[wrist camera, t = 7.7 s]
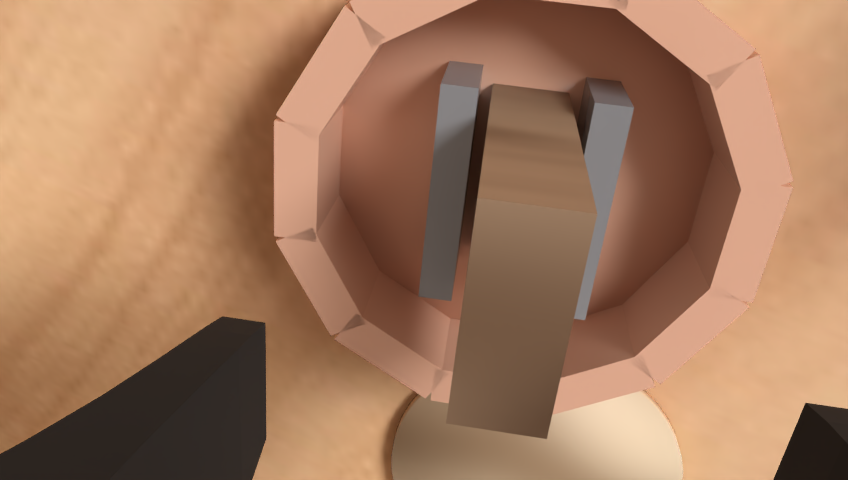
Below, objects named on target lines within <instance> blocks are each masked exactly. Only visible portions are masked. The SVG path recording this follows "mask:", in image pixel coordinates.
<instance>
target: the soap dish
mask: <svg viewBox="0 0 848 480" xmlns="http://www.w3.org/2000/svg"><path fill="white" fill-rule="evenodd" d="M755 50H756V48H754V47H753V46H752V45H751V44H750V43H748V42H747V41H746V40H745V39H744V38H742V37H741V36H740V35H739V34H737V33H736V32H735V31H734V30H733V29H731V28H730V27H729V26H728V25H727V24H725V23H724V22H723V21H722V20H721V19H719V18H718V17H717V16H716V15H715V14H713V13H712V12H711V11H710V10H709V9H707V8H706V7H705V6H704V5H702V4H701V3H700V2H699V1H698V0H351V1H349V3H348V4H346V5H345V6H344V7H343V9H342V10H341V12H340V13H339V15H338V17H337V18H336V20H335V21H334V23H333V25H332V26H331V28H330V29H329V31H328V33H327V34H326V36H325V37H324V39H323V40H322V42H321V44H320V45H319V47H318V48H317V50H316V52H315V53H314V55H313V56H312V58H311V60H310V61H309V63H308V64H307V66H306V67H305V69H304V71H303V72H302V74H301V75H300V77H299V79H298V80H297V82H296V83H295V85H294V87H293V88H292V90H291V91H290V93H289V94H288V96H287V98H286V99H285V101H284V102H283V104H282V106H281V107H280V109H279V110H278V112H277V114H276V116H278V117H277V118H276V119H275V120H274V236H277V237H278V239H277V240H276V243H277V245H278V246H279V248H280V250H281V252H282V253H283V255H284V257H285V258H286V260H287V262H288V264H289V265H290V267H291V269H292V270H293V272H294V274H295V276H296V277H297V279H298V281H299V282H300V284H301V286H302V288H303V289H304V291H305V293H306V294H307V296H308V298H309V300H310V301H311V303H312V305H313V306H314V308H315V310H316V312H317V313H318V315H319V317H320V318H321V320H322V322H323V324H324V325H325V327H326V329H327V330H328V332H329V334H330V336H331V335H334V334H336V337H335V339H334V340H336V341H337V342H339V343H340V344H342V345H343V346H345V347H347V348H348V349H350V350H351V351H353V352H354V353H356V354H357V355H359V356H360V357H362V358H364V359H365V360H367V361H368V362H370V363H371V364H373V365H374V366H376V367H377V368H379V369H381V370H382V371H384V372H385V373H387V374H388V375H390V376H391V377H393V378H394V379H396V380H398V381H399V382H401V383H402V384H404V385H405V386H407V387H408V388H410V389H411V390H413V391H415V392H416V393H418V394H419V395H421V396H422V397H424V398H426V397H427V396H428V395H429V394H430V393H431V401H438V402H444V403H449V397H450V390H451V382H452V375H453V368H454V361H455V353H456V346H457V339H458V332H459V324H460V317H461V310H462V303H463V295H464V288H465V281H466V273H467V266H468V259H469V252H470V244H471V237H472V230H473V223H474V216H475V209H476V202H477V194H478V187H479V180H480V173H481V166H482V159H483V152H484V145H485V137H486V130H487V123H488V116H489V109H490V102H491V95H492V87H493V83H495V84H503V85H511V86H519V87H527V88H535V89H543V90H551V91H559V92H567V93H569V94H570V99H571V103H572V107H573V111H574V116H575V120H576V124H577V129H578V133H579V137H580V141H581V146H582V150H583V154H584V159H585V163H586V167H587V171H588V176H589V180H590V184H591V188H592V193H593V197H594V201H595V206H596V210H597V218H596V223H595V227H594V232H593V236H592V241H591V245H590V249H589V254H588V258H587V263H586V267H585V272H584V276H583V281H582V285H581V289H580V294H579V298H578V303H577V307H576V312H575V316H574V321H573V325H572V329H571V334H570V338H569V343H568V347H567V352H566V356H565V361H564V365H563V369H562V374H561V378H560V383H559V387H558V392H557V396H556V401H555V405H554V409H553V414H552V415H554V414H557V413H561V412H565V411H569V410H572V409H576V408H580V407H583V406H587V405H591V404H594V403H598V402H602V401H605V400H609V399H613V398H616V397H620V396H624V395H628V394H631V393H635V392H639V391H642V390H646V389H650V388H653V387H655V384H654V380H655V381H657V382H658V383H659V384H661V383H663V382H664V381H665V380H666V379H667V378H668V377H670V376H671V375H672V374H673V373H674V372H675V371H677V370H678V369H679V368H680V367H681V366H682V365H683V364H685V363H686V362H687V361H688V360H689V359H690V358H692V357H693V356H694V355H695V354H696V353H697V352H698V351H700V350H701V349H702V348H703V347H704V346H705V345H707V344H708V343H709V342H710V341H711V340H712V339H714V338H715V337H716V336H717V335H718V334H719V333H720V332H722V331H723V330H724V329H725V328H726V327H727V326H729V325H730V324H731V323H732V322H733V321H734V320H736V319H737V318H738V317H739V316H740V315H741V314H742V313H744V312H745V311H746V310H747V309H748V308H749V306H748V304H747V302H752V303H753V301H754V298H755V295H756V292H757V289H758V286H759V284H760V281H761V278H762V275H763V272H764V269H765V266H766V264H767V261H768V258H769V255H770V252H771V249H772V247H773V244H774V241H775V238H776V235H777V232H778V229H779V227H780V224H781V221H782V218H783V215H784V212H785V210H786V207H787V204H788V201H789V198H790V195H791V192H792V190H793V187H792V186H791V185H790V182H793V177H792V174H791V170H790V166H789V162H788V159H787V155H786V151H785V147H784V144H783V140H782V136H781V132H780V129H779V125H778V121H777V117H776V114H775V110H774V106H773V102H772V98H771V95H770V91H769V87H768V83H767V80H766V76H765V72H764V68H763V65H762V61H761V57H760V55H759V54H758V53H757V52H755ZM653 379H654V380H653Z"/></svg>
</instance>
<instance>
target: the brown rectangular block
mask: <svg viewBox="0 0 848 480" xmlns="http://www.w3.org/2000/svg"><path fill="white" fill-rule="evenodd" d="M596 218H597V210H596V206H595V201H594V197H593V193H592V188H591V184H590V180H589V176H588V171H587V167H586V163H585V159H584V154H583V150H582V146H581V141H580V137H579V133H578V129H577V124H576V120H575V116H574V111H573V107H572V103H571V99H570V94H569V93H567V92H559V91H551V90H543V89H535V88H527V87H519V86H511V85H503V84H495V83H493V87H492V95H491V102H490V109H489V116H488V123H487V130H486V137H485V145H484V152H483V159H482V166H481V173H480V180H479V187H478V194H477V202H476V209H475V216H474V223H473V230H472V237H471V244H470V252H469V259H468V266H467V273H466V281H465V288H464V295H463V303H462V310H461V317H460V324H459V332H458V339H457V346H456V353H455V361H454V368H453V375H452V382H451V390H450V397H449V404H448V412H447V419H446V424H452V425H459V426H465V427H472V428H478V429H485V430H491V431H497V432H504V433H510V434H517V435H523V436H530V437H536V438H542V439H547V436H548V432H549V427H550V423H551V418H552V414H553V409H554V405H555V401H556V396H557V392H558V387H559V383H560V378H561V374H562V369H563V365H564V361H565V356H566V352H567V347H568V343H569V338H570V334H571V329H572V325H573V321H574V316H575V312H576V307H577V303H578V298H579V294H580V289H581V285H582V281H583V276H584V272H585V267H586V263H587V258H588V254H589V249H590V245H591V241H592V236H593V232H594V227H595V223H596Z"/></svg>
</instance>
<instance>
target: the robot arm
mask: <svg viewBox="0 0 848 480" xmlns="http://www.w3.org/2000/svg"><path fill="white" fill-rule="evenodd" d="M265 440H266V344H265V323H263V322H256V321H249V320H242V319H236V318H229V317H221V318H219V319H217V320H216V321H214V322H213V323H211V324H209V325H208V326H206V327H205V328H203V329H202V330H200V331H199V332H197V333H196V334H194V335H193V336H191V337H190V338H188V339H187V340H185V341H184V342H183V343H181V344H180V345H178V346H177V347H175V348H174V349H172V350H171V351H169V352H168V353H166V354H165V355H163V356H162V357H160V358H159V359H157V360H156V361H154V362H153V363H151V364H150V365H148V366H147V367H145V368H144V369H142V370H140V371H139V372H137V373H136V374H134V375H133V376H131V377H130V378H128V379H127V380H125V381H124V382H122V383H120V384H119V385H117V386H116V387H114V388H113V389H111V390H110V391H108V392H107V393H105V394H103V395H102V396H100V397H99V398H97V399H95V400H93V401H92V402H90V403H88V404H87V405H85V406H83V407H82V408H80V409H78V410H76V411H75V412H73V413H71V414H70V415H68V416H66V417H65V418H63V419H61V420H60V421H58V422H56V423H54V424H53V425H51V426H49V427H48V428H46V429H44V430H43V431H41V432H39V433H37V434H36V435H34V436H32V437H31V438H29V439H27V440H25V441H24V442H22V443H20V444H18V445H16V446H14V447H13V448H11V449H9V450H7V451H5V452H3V453H1V454H0V480H252V478H253V475H254V473H255V470H256V467H257V464H258V461H259V458H260V455H261V452H262V449H263V446H264V443H265ZM774 480H848V409H844V408H837V407H830V406H823V405H817V404H810V403H805V406H804V408H803V410H802V413H801V415H800V418H799V420H798V422H797V425H796V427H795V430H794V432H793V434H792V437H791V439H790V441H789V444H788V446H787V449H786V451H785V453H784V456H783V458H782V461H781V463H780V465H779V468H778V470H777V472H776V475H775V477H774Z"/></svg>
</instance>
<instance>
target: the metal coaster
mask: <svg viewBox="0 0 848 480" xmlns="http://www.w3.org/2000/svg"><path fill="white" fill-rule="evenodd" d="M448 404H449V403H444V402H438V401H431V393H430V394H429V395H428V396H427V397H426V398H424V397H422V396H421V395H419V394H417V396H416V397H415V398H414V399H413V401H412V402H411V403H410V404H409V406H408V407H407V409H406V411H405V413H404V414H403V416H402V418H401V420H400V423H399V426H398V428H397V431H396V435H395V439H394V444H393V450H392V460H391V469H392V475H393V480H683V465H682V456H681V452H680V449H679V445H678V442H677V439H676V435H675V432H674V430H673V428H672V426H671V424H670V422H669V420H668V418H667V416H666V415H665V413H664V412H663V411H662V409H661V408H660V406H659V405H658V404H657V403H656V402H655V401H654V400H653V399H652V397H651V396H650V395H649V394H648V393H647V392H646V391H645V390H642V391H639V392H635V393H631V394H628V395H624V396H620V397H616V398H613V399H609V400H605V401H602V402H598V403H594V404H591V405H587V406H583V407H580V408H576V409H572V410H569V411H565V412H561V413H557V414H554V415H552V418H551V423H550V427H549V432H548V436H547V439H542V438H536V437H530V436H523V435H517V434H510V433H504V432H497V431H491V430H485V429H478V428H472V427H465V426H459V425H452V424H446V419H447V412H448Z"/></svg>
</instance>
